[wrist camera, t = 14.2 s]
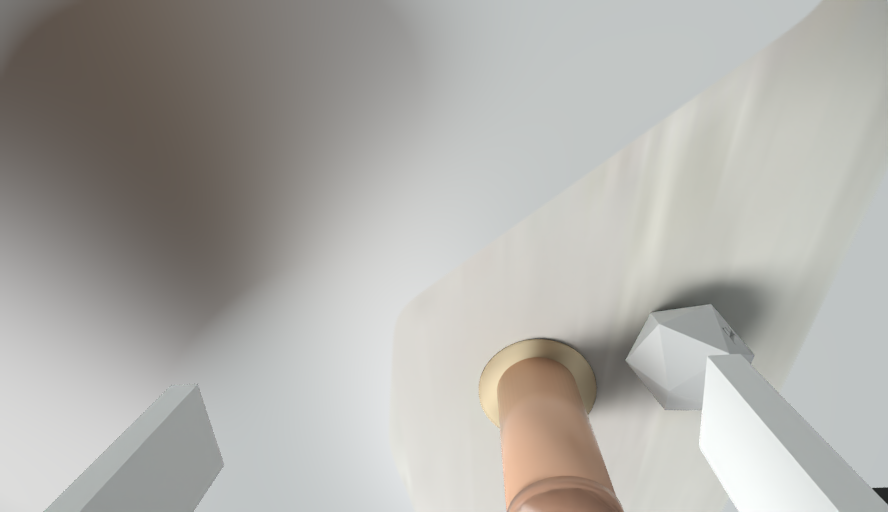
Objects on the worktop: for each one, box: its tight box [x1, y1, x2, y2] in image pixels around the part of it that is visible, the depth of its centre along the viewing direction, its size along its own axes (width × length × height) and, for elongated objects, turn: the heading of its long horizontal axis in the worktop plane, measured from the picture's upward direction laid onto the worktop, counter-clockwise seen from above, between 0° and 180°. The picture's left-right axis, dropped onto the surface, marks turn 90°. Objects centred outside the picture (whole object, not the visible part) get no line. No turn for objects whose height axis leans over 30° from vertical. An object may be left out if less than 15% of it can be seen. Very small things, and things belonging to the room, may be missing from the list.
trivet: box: [479, 339, 597, 428], centre depth 45 cm, size 11×11×1 cm
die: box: [625, 304, 754, 410], centre depth 39 cm, size 8×9×10 cm
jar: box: [497, 357, 624, 512], centre depth 38 cm, size 8×8×15 cm
